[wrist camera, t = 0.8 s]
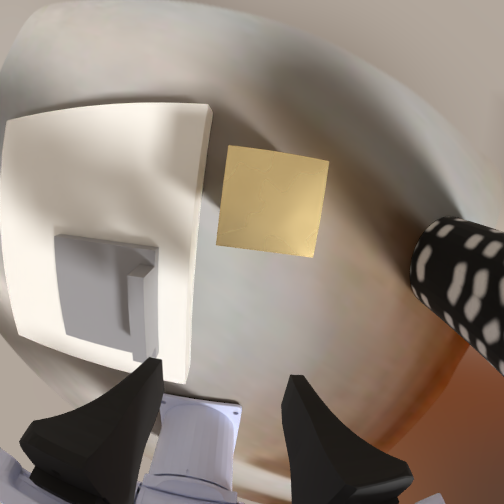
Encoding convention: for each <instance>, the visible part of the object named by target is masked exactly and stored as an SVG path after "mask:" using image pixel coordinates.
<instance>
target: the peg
mask: <svg viewBox="0 0 504 504" xmlns="http://www.w3.org/2000/svg"><path fill="white" fill-rule="evenodd" d="M328 167H329V161H326V160H321V159H316V158H311V157H306V156H300V155H294V154H289V153H283V152H276V151H270V150H263V149H256V148H248V147H240V146H232V145H228V152H227V159H226V166H225V174H224V182H223V189H222V197H221V206H220V214H219V223H218V232H217V241H216V245H219V246H227V247H235V248H243V249H250V250H258V251H266V252H274V253H282V254H290V255H297V256H305V257H313V255H314V250H315V245H316V239H317V234H318V228H319V223H320V217H321V211H322V205H323V199H324V193H325V187H326V180H327V174H328Z"/></svg>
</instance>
